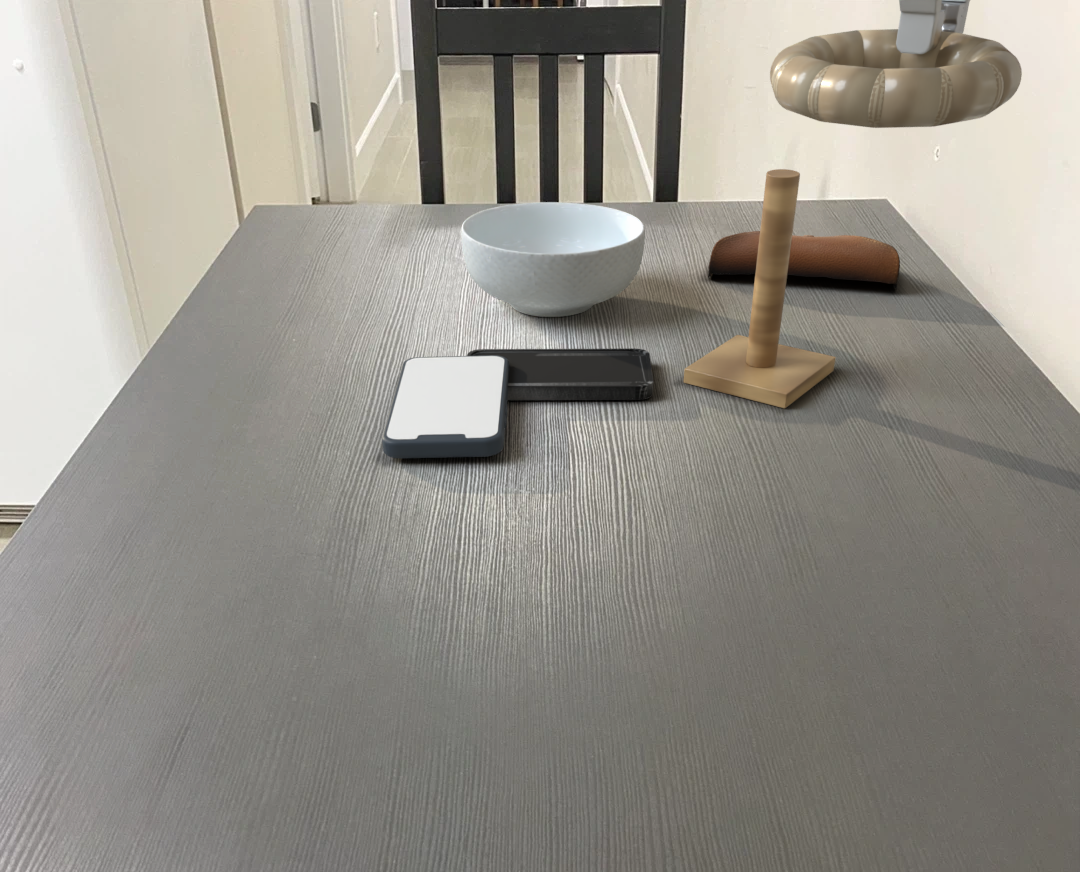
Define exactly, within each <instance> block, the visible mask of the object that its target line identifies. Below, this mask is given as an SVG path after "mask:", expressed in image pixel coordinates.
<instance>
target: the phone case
mask: <svg viewBox="0 0 1080 872" xmlns="http://www.w3.org/2000/svg"><path fill="white" fill-rule="evenodd" d="M508 378H509V361H508V359H507V358H505V357H502V356H497V355H486V356H467V355H448V356H446V355H445V356H416V357H410V358H408V359H406V360H404V361H403V362H402V364H401V368H400V370H399V375H398V379H397V382H396V386H395V389H394V393H393V397H392V400H391V403H390V407H389V409H388V413H387V417H386V421H385V425H384V428H383V432H382V435H381V444H382V451H383V454H385V455H386V456H387V457H390V458H393V459H439V458H441V459H443V458H477V457H478V458H482V457H483V458H484V457H485V458H486V457H487V458H488V457H492V456H495V455H497V454H499V453H501V452H502V451H503V449H504V444H505V433H506V428H507V423H508V400H507V398H508Z"/></svg>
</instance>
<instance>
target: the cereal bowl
mask: <svg viewBox="0 0 1080 872" xmlns="http://www.w3.org/2000/svg"><path fill="white" fill-rule="evenodd" d="M645 239H646V228H645V224H644V223H643V221H642V220H641V219H640V218H638V217H637V216H635V215H633V214H631V213H628V212H626V211H623V210H620V209H616V208H613V207H608V206H602V205H597V204H596V205H595V204H587V203H579V202H563V201H562V202H561V201H560V202H559V201H558V202H557V201H547V202H546V201H540V202H536V201H535V202H524V203H523V202H522V203H512V204H506V205H500V206H495V207H491V208H487V209H484V210H480V211H478V212H476V213H474V214H472V215H470V216H469V217H467V218H466V219H465V220H464V221H463V223H462V225H461V228H460V243H461V253H462V258H463V261H464V265H465V269H466V271H467V273H468V275H469V277H471V279H472V280H473V282H474V283H475V284H476V285H477V286H478V288H480V289H481V290H482V291H484V292H485V293H486V294H488V295H489V296H491V297H492V298H495V299H497V300H499V301H502V302H503V303H506V304H509V305H510V307H511V308H512V309H514V310H515V311H516V312H519V313H521V314H525V315H528V316H533V317H534V316H535V317H540V318H541V317H543V318H559V317H560V318H561V317H569V316H575V315H579V314H581V313H585V312H587V311H588V310H590V309H592V307H593V306H594V305H597V304H600V303H604V302H606V301H609V300H610V299H612V298H614V297H616V296H617V295H620V293H621V292H623V291H624V290H625V289H627V288H628V287H629V286H630V284H631V283H632V282H633V281H634V279H635V278H636V276H637V274H638V272H639V270H640V268H641V265H642V260H643V256H644V251H645Z"/></svg>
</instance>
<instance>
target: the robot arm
mask: <svg viewBox="0 0 1080 872" xmlns="http://www.w3.org/2000/svg"><path fill="white" fill-rule="evenodd" d="M970 1H971V0H898V2H899V11H900V15H899V22H898V28H897V29H898V34H897V40H896V46H897V49H898V50H899V51H900V52H901V53H909V54H924V53H926V52H929V51H931V50H933V49H935V48H936V47H937V45H938V44H939V43H940V38H941V31H944V32H957V33H962V34H964V32H965V27H966V26H965V25H966V21H967V16H968V12H969V6H970Z"/></svg>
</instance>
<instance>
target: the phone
mask: <svg viewBox="0 0 1080 872" xmlns="http://www.w3.org/2000/svg"><path fill="white" fill-rule="evenodd" d="M486 355H497V356H502V357H505V358H507V359H508V361H509V378H508V398H507V401H641V400H647V399H650V398H651V397H652V396H653V392H654V391H653V390H654V375H653V370H652V361H651V355H650V352H649V351H648V350H647V349H643V348H478V349H472V350H470V351H468V352H467V354H466V356H486Z"/></svg>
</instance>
